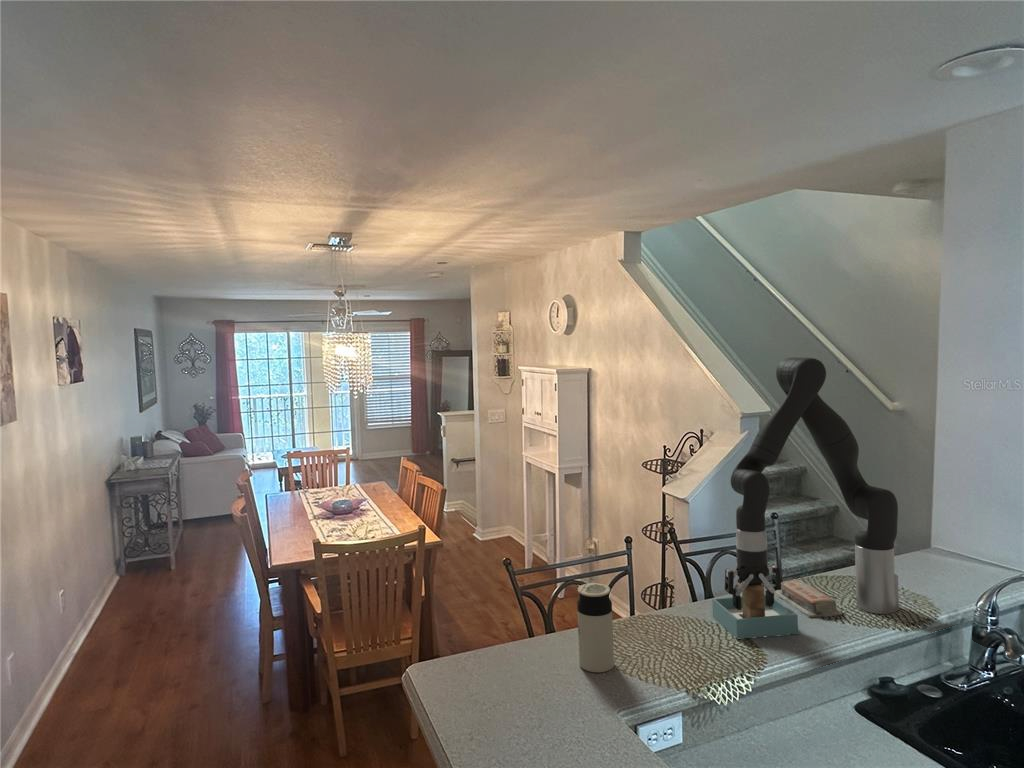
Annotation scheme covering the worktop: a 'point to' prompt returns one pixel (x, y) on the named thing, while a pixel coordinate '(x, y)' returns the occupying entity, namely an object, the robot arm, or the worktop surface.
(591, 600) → the travel mug
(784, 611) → the walled box
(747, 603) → the brown wooden block
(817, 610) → the packaged product
